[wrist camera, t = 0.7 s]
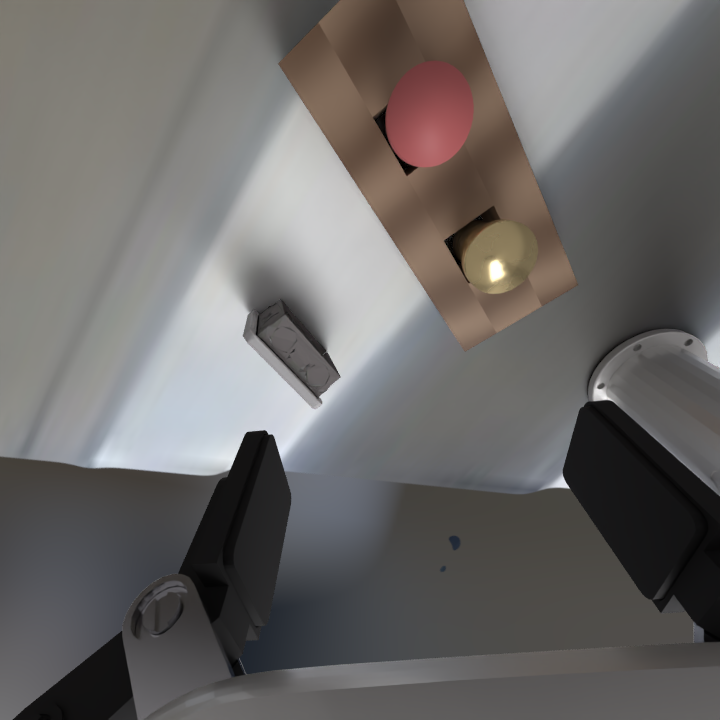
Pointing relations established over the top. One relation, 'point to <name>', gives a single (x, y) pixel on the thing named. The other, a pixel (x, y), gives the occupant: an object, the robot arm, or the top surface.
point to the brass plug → (495, 254)
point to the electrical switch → (291, 351)
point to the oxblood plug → (429, 114)
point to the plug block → (438, 183)
